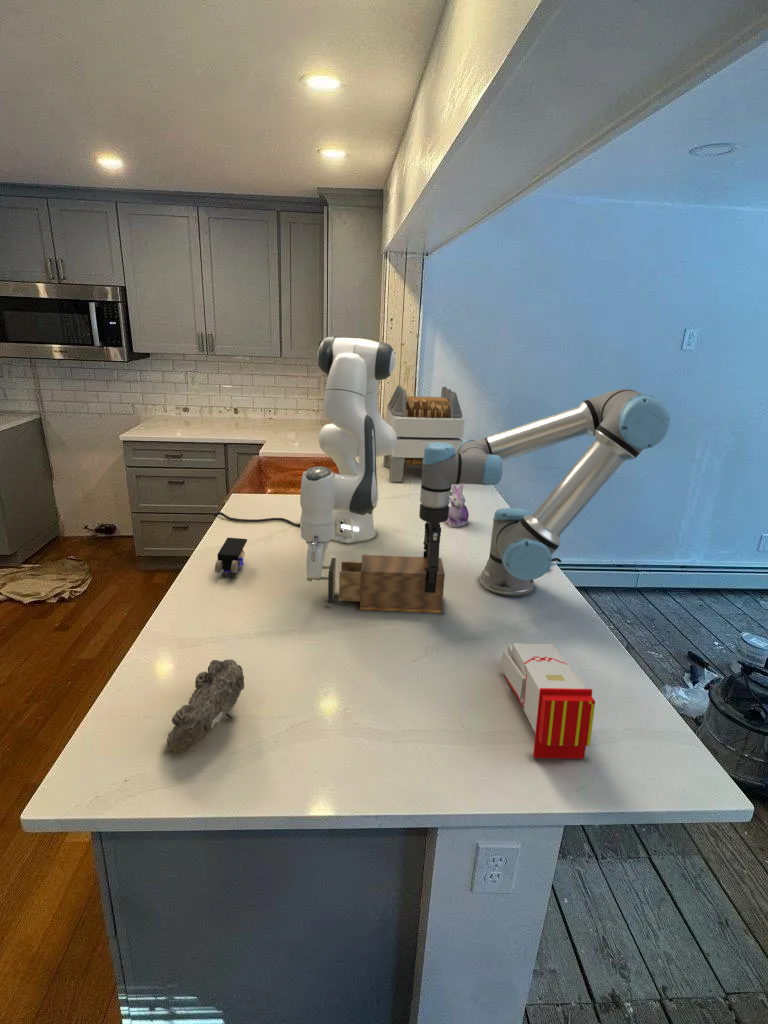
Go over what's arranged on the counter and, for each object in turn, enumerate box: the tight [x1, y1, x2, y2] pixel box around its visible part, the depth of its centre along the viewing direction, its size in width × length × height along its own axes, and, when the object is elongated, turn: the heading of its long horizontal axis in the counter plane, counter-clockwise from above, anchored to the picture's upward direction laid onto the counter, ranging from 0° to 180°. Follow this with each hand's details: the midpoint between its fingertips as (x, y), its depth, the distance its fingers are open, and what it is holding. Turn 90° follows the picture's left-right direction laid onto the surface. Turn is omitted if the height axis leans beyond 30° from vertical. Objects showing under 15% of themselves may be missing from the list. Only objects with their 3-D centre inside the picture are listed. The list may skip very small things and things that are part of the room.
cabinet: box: [359, 554, 446, 614], centre depth 152 cm, size 22×10×11 cm, turn 90°
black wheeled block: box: [214, 537, 248, 578], centre depth 166 cm, size 7×8×15 cm
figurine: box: [446, 483, 470, 528], centre depth 210 cm, size 9×10×15 cm
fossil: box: [166, 658, 245, 754], centre depth 106 cm, size 22×10×15 cm
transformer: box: [383, 384, 465, 483], centre depth 268 cm, size 34×33×41 cm
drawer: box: [306, 557, 362, 605], centre depth 152 cm, size 26×9×9 cm, turn 90°
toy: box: [499, 642, 596, 760], centre depth 113 cm, size 12×13×30 cm
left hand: (317, 578), depth 151 cm, fingers closed, pressing on drawer
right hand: (428, 582), depth 152 cm, fingers closed on cabinet, 10 cm apart
